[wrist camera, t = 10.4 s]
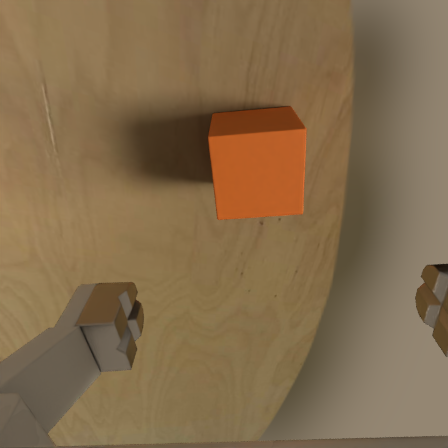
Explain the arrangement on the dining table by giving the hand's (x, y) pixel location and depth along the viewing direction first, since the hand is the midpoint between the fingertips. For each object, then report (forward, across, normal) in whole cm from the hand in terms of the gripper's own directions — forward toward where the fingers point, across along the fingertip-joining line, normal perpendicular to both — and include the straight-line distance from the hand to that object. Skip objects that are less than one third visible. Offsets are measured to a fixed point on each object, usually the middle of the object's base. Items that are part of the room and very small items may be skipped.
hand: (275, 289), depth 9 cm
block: (+12, 0, 0) cm, 12 cm away
